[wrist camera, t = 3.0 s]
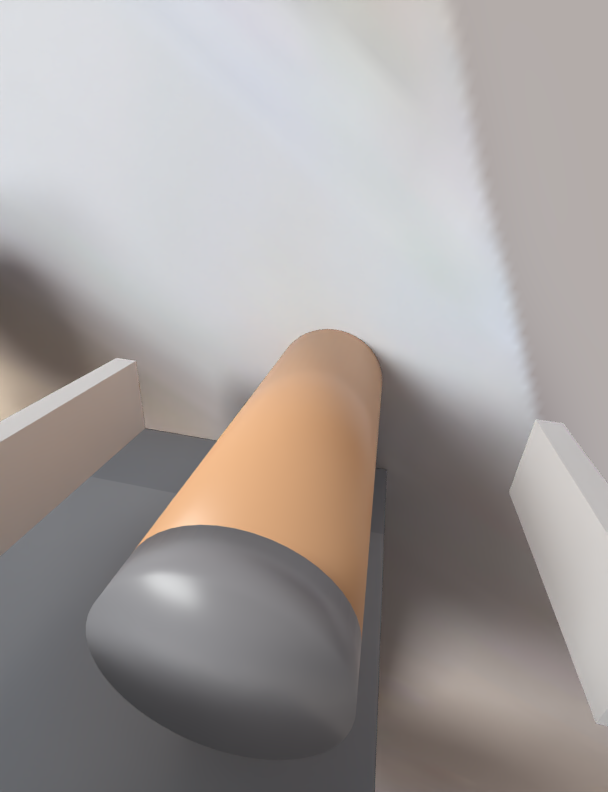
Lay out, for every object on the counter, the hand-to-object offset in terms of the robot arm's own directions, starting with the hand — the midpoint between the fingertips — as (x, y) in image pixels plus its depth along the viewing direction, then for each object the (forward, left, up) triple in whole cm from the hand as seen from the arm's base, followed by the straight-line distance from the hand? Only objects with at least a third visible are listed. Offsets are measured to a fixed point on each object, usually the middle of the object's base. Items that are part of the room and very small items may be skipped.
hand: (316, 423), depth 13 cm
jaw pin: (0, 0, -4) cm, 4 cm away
